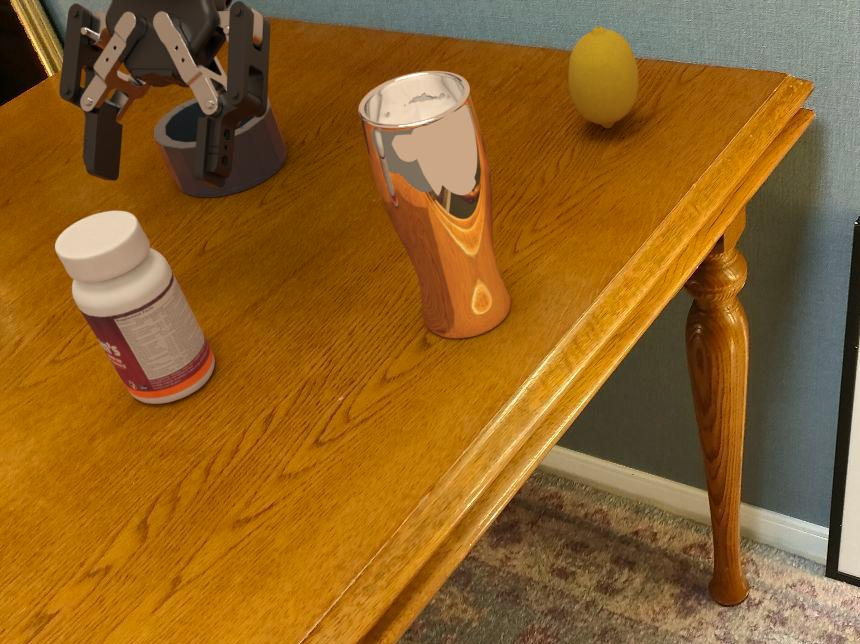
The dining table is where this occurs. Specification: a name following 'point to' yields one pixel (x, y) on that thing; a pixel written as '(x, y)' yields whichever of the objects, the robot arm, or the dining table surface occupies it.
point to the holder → (252, 153)
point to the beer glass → (438, 196)
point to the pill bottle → (135, 307)
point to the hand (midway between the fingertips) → (154, 181)
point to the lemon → (603, 77)
